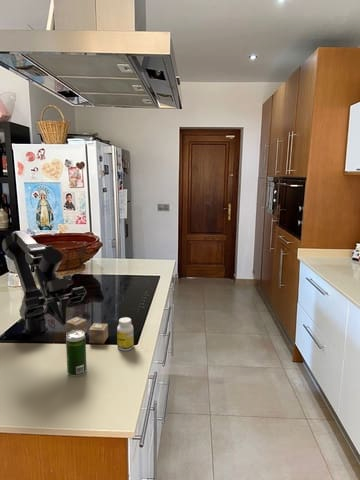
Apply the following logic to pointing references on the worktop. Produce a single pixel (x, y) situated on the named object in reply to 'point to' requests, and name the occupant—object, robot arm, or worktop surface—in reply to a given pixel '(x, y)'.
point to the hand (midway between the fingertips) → (64, 324)
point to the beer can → (76, 353)
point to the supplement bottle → (125, 334)
